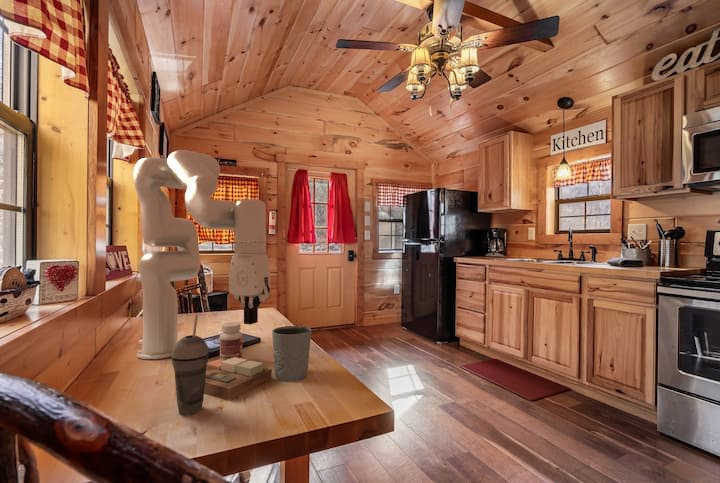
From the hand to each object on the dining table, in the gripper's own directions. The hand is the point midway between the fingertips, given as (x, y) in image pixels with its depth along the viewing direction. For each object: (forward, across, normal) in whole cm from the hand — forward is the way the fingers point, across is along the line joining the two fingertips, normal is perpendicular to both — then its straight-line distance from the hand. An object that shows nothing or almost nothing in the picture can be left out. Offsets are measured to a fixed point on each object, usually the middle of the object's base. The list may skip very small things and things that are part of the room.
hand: (250, 323), depth 93 cm
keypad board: (+15, -6, -3) cm, 16 cm away
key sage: (+12, 0, 0) cm, 12 cm away
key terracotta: (+14, -11, 0) cm, 18 cm away
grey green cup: (+15, +6, +9) cm, 19 cm away
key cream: (+12, -6, 0) cm, 14 cm away
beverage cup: (+15, 0, -17) cm, 23 cm away
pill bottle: (+15, -15, +8) cm, 23 cm away
